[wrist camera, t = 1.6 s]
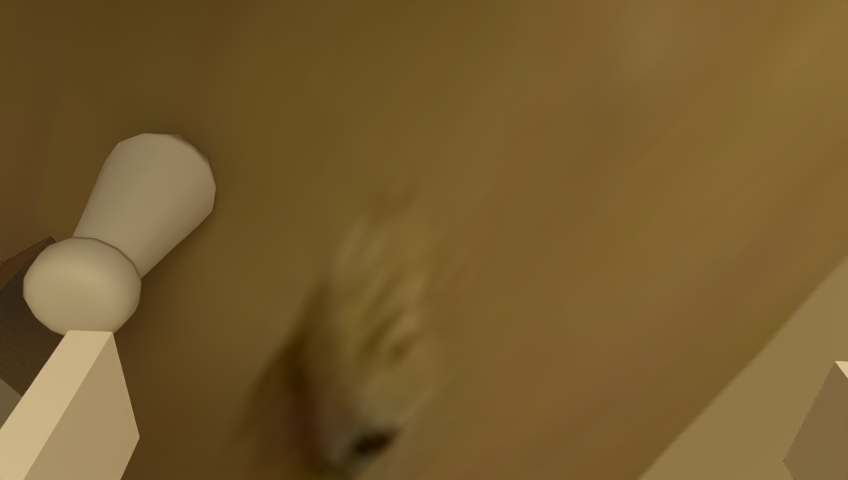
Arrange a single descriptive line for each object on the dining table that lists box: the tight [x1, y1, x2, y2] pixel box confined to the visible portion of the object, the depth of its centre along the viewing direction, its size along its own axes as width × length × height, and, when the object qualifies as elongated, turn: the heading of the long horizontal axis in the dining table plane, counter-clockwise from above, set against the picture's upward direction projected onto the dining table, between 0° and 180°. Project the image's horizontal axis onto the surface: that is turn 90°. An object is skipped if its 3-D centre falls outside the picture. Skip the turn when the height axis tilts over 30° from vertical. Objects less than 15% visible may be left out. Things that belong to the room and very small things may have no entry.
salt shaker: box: [23, 133, 216, 335], centre depth 32 cm, size 6×6×13 cm
